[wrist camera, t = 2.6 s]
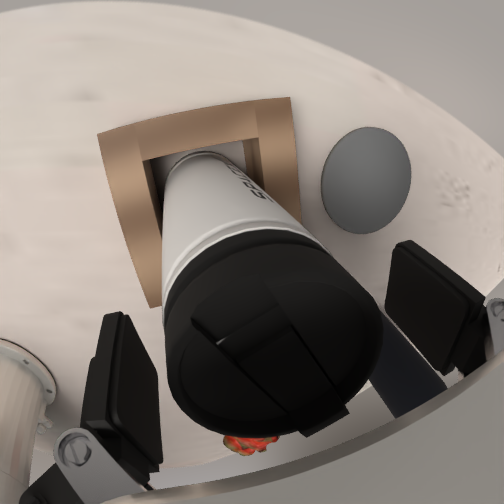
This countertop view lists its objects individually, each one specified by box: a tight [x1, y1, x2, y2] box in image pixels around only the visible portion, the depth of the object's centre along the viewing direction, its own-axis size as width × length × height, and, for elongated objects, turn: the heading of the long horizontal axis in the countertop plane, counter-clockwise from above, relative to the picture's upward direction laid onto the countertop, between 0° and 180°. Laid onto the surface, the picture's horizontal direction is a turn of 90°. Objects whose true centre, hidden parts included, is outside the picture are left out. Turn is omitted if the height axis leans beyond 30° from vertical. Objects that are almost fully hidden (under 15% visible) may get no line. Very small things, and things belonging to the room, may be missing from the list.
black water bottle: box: [369, 311, 448, 419], centre depth 24 cm, size 6×6×30 cm
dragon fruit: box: [223, 435, 280, 456], centre depth 36 cm, size 8×8×12 cm
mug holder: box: [97, 97, 302, 308], centre depth 22 cm, size 13×13×5 cm
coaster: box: [321, 127, 411, 234], centre depth 28 cm, size 11×11×1 cm
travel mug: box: [162, 151, 384, 438], centre depth 16 cm, size 6×7×20 cm
